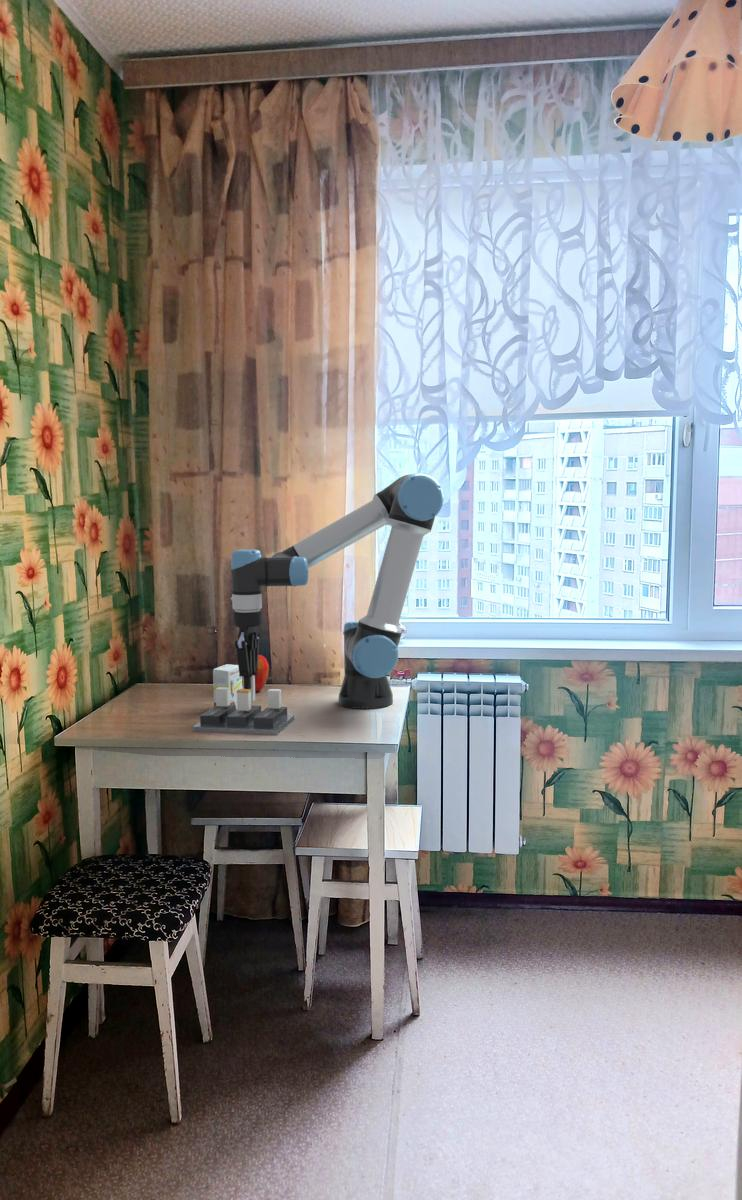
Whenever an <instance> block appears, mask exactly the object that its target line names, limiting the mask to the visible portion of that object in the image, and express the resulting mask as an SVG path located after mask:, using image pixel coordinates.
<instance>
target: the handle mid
mask: <svg viewBox="0 0 742 1200" xmlns="http://www.w3.org/2000/svg"><path fill="white" fill-rule="evenodd" d="M251 705H252V701H251V689H243V688H242V689H238V690H237V710H243V711H249V710H250V709H251Z"/></svg>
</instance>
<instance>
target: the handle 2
mask: <svg viewBox="0 0 742 1200" xmlns="http://www.w3.org/2000/svg"><path fill="white" fill-rule="evenodd" d="M282 705H283V704H282V689H280V688H269V689H267V707H268V708H280V707H283V706H282Z"/></svg>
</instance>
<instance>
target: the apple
mask: <svg viewBox="0 0 742 1200" xmlns="http://www.w3.org/2000/svg"><path fill="white" fill-rule="evenodd" d="M269 669H270V665H269V662H268V660H267V658H266V657H265V656H263V654H259V656H258V670H257V671H256V672H258V675H255V693H256V692H259V691H261V690H262V689H263V688H264V687H265V685H266V683H267V680H268V677H269ZM242 687H243V676H242Z"/></svg>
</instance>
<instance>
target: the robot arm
mask: <svg viewBox="0 0 742 1200" xmlns="http://www.w3.org/2000/svg"><path fill="white" fill-rule="evenodd" d="M443 491H444V490H443V488H442V487H441V484H440V483H439V482H438V481H437V480H436V479H435V478H434V477H431V476H430V475H429V474H428V475H427V474H426V473H425V474H424V473H420V472H419V473H413V474H406V475H403V476H401V477H398V478H397V479H396V480H394V481H393V482H392V483H391V484H389V485H388V486H386V487H385V488H383V489H382V490H380V491H379V492H376V494H374V495H373V497H372V500H370V501H369V502H367V503H365V504H364V505H362V506H360V507H358V508H357V509H354V510H353V511H351V512H349V513H348V514H346V515H344V516H343V517H341V518H339V519H337V520H335V521H333V522H332V523H329V525H326V526H324V527H322V528H321V529H319V530H318V531H315V532H314V533H312V534H311V535H309V536H307V537H305V538H303V539H302V540H300V541H298V542H297V543H294V544H293V545H292V546H289V547H287V548H285V549H284V550H283V551H279V552H276V553H275V554H273V555H272V556H270V557H265V556H262V554H261V551H260V550H259V549H236V550H234V551H233V552H232V553H231V558H230V559H231V563H230V565H231V566H230V571H231V572H230V573H231V574H230V575H231V576H230V577H231V579H230V580H231V597H230V601H231V602H232V610H234V611H233V612H232V625H233V626H234V627H238V628H239V629H238V634H237V639H236V640H235V641H234V645H235V649H236V656H237V665H238V666H239V676H243V686H242V689H251V702H255V701H256V692H255V675H258V672H256V671H257V670H258V656H259V655H260V654H259V653H260V651H259V650H260V640H261V633H258V632H257V627H259V626H262V625H263V612H262V609H263V594H262V588H264V587H265V588H266V587H293V588H296V587H300V586H306V585H307V584H308V582H309V569H310V568H312V567H314V566H315V565H317V564H318V563H321V562H323V561H324V560H326V559H327V558H330V557H331V556H333V555H335V554H337V553H338V552H340V551H342V550H343V549H346V548H347V547H349V546H351V545H353V544H354V543H356V542H358V541H360V540H361V539H363V538H365V537H367V536H368V535H370V534H372V533H374V532H376V531H377V530H379V529H380V528H382V527H384V526H390V527H391V529H390V531H389V532H390V533H389V535H388V540H387V542H386V546H385V550H384V552H383V556H382V559H381V565H380V568H379V571H378V574H377V578H376V581H375V585H374V588H373V592H372V595H371V599H370V602H369V606H368V610H367V612H366V615H365V616H363V617H362V618H360V619H359V620H358V621H347V622H345V623H344V625H343V632H342V635H343V650H344V653H343V655H344V656H343V658H344V659H343V660H344V661H343V662H344V675H343V676H344V677H343V680H342V683H341V687H340V689H339V692H338V704H339V705H340V706H342V707H346V708H352V709H378V708H385V707H388V706H391V705H392V704H393V702H394V701H393V700H394V697H393V691H392V688H391V685H390V683H389V679H388V675H390V673H392V672H393V671H394V669H395V668H396V666H397V665H398V661H399V650H398V647H399V643H400V640H401V636H402V629H401V627H400V626H399V625H400V624H399V622H400V618H401V615H402V612H403V608H404V605H405V601H406V599H407V594H408V591H409V588H410V583H411V581H412V577H413V574H414V570H415V567H416V563H417V561H418V560H417V559H418V557H419V553H420V550H421V546H422V542H423V539H424V537H425V536H426V535H427V534H429V533H430V532H432V529H433V525H434V522H435V518H436V517H437V516H438V514H439V513H440V512H441V510H442V508H443V504H444V499H445V496H444V492H443Z"/></svg>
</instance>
